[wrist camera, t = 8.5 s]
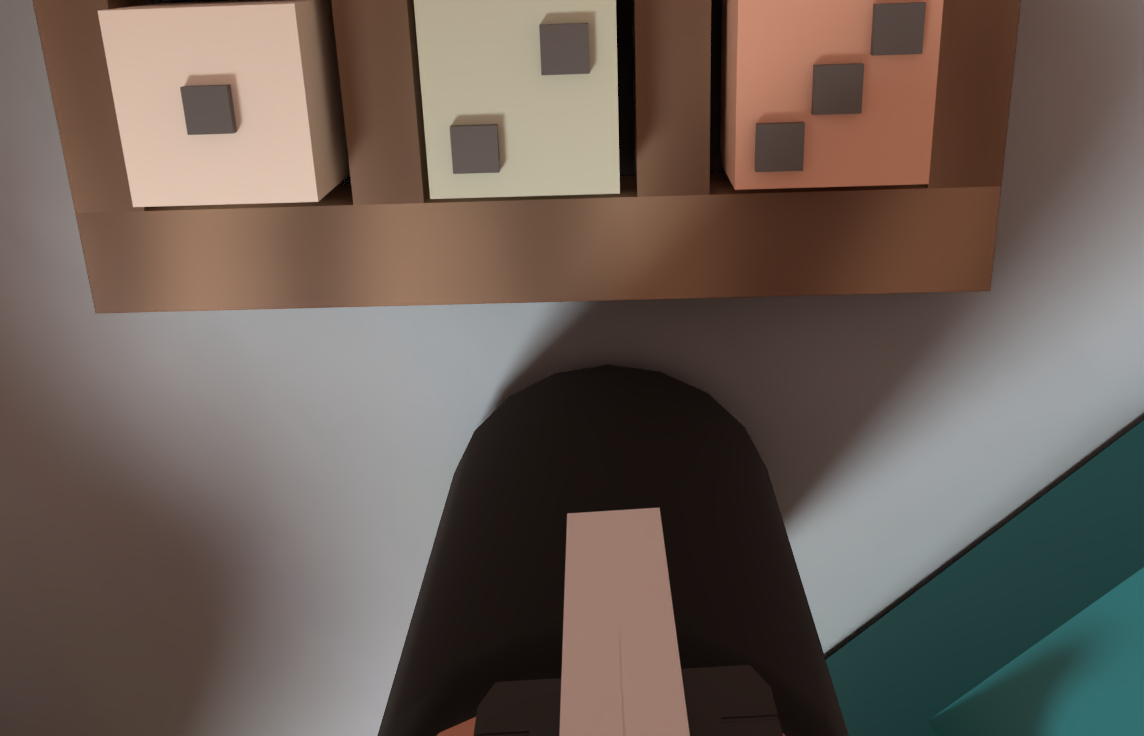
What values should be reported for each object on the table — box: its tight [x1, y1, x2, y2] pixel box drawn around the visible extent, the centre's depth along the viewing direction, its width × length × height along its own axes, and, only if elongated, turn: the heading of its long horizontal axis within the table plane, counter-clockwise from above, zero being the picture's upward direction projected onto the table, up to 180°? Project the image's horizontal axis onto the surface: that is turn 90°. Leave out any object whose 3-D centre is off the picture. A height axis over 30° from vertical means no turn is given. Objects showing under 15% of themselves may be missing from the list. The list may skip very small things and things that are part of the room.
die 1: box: [98, 0, 350, 207], centre depth 30 cm, size 5×5×4 cm
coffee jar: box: [378, 365, 849, 736], centre depth 29 cm, size 11×11×18 cm
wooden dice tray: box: [33, 0, 1021, 313], centre depth 31 cm, size 26×12×3 cm, turn 92°
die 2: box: [414, 0, 620, 199], centre depth 30 cm, size 5×5×4 cm
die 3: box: [720, 0, 944, 190], centre depth 29 cm, size 5×5×4 cm
